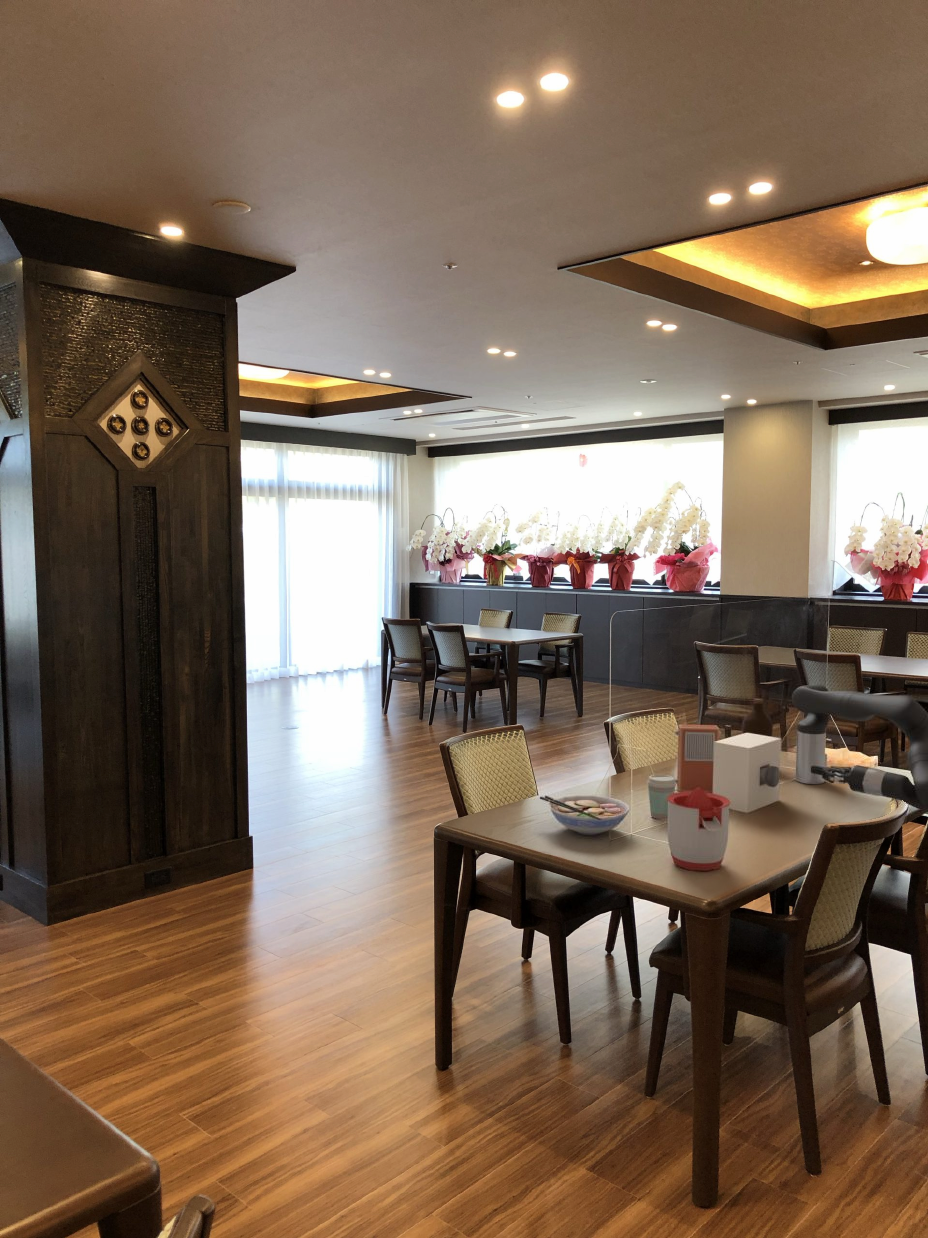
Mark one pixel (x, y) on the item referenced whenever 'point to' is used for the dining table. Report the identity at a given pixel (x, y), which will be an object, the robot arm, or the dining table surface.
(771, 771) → the knob
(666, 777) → the coffee cup
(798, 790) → the dining table surface
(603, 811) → the ramen bowl
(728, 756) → the knob mount
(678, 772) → the orange radio
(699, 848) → the citrus juicer
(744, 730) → the olive oil
